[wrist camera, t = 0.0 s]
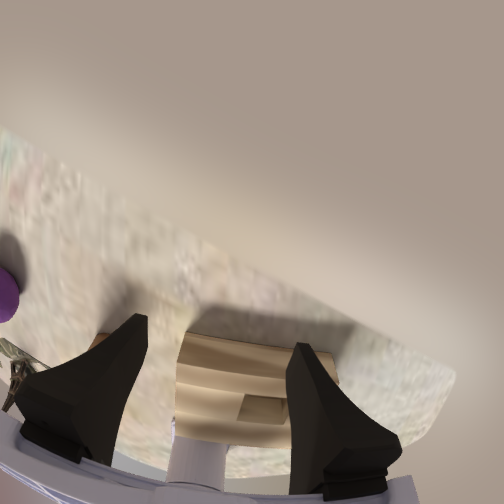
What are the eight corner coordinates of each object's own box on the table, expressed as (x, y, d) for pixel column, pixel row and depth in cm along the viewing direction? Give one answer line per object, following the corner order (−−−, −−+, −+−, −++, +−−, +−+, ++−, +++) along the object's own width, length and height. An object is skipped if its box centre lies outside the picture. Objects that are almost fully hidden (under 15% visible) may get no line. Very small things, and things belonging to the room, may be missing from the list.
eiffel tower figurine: (69, 373, 31) (28, 451, 18) (72, 408, 34) (43, 473, 22) (-10, 324, 28) (-58, 382, 16) (1, 365, 32) (-35, 419, 20)
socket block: (292, 423, 32) (295, 449, 29) (180, 408, 31) (174, 435, 28) (331, 353, 27) (339, 383, 23) (185, 331, 26) (176, 362, 22)
